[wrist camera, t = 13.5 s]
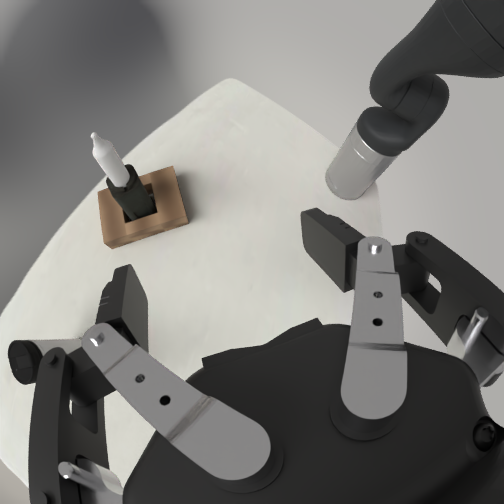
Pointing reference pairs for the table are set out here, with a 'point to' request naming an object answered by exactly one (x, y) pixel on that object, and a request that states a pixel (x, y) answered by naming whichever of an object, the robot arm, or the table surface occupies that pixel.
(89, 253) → the table surface
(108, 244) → the socket block
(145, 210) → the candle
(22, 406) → the table surface
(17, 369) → the travel mug
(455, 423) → the robot arm
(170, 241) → the table surface
